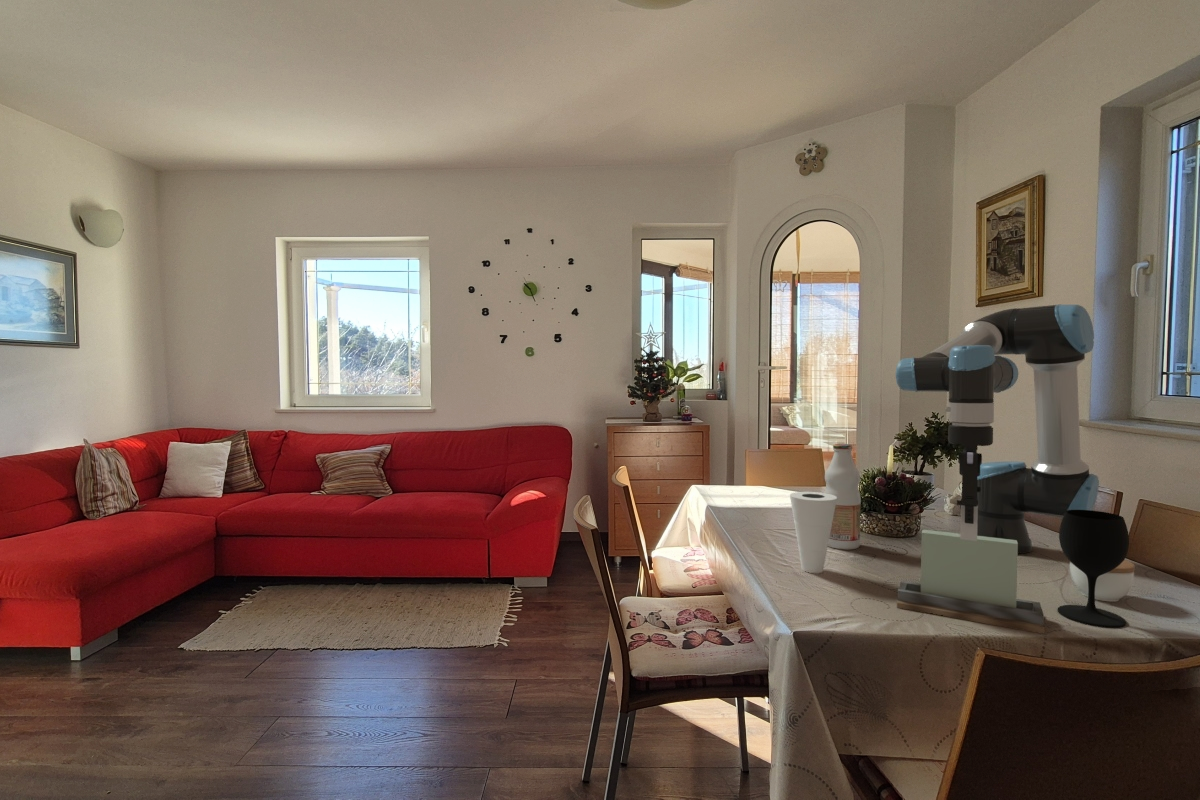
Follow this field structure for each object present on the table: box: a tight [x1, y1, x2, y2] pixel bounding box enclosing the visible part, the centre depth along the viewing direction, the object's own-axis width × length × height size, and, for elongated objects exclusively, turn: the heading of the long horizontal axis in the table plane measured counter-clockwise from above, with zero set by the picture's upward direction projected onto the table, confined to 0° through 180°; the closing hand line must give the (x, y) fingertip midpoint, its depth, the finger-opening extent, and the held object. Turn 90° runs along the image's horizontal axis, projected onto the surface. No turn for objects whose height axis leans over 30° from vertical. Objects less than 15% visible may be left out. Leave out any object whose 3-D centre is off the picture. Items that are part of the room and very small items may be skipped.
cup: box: [789, 491, 837, 574], centre depth 145 cm, size 11×11×18 cm
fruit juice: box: [823, 443, 862, 550], centre depth 166 cm, size 9×9×28 cm
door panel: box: [920, 529, 1019, 608], centre depth 119 cm, size 16×3×14 cm, turn 58°
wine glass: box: [1057, 510, 1130, 629], centre depth 116 cm, size 10×10×20 cm
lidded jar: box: [1069, 559, 1136, 603], centre depth 127 cm, size 11×11×9 cm
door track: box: [896, 580, 1045, 635], centre depth 119 cm, size 24×10×3 cm, turn 58°
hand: (968, 531), depth 119 cm, fingers open, 13 cm apart
